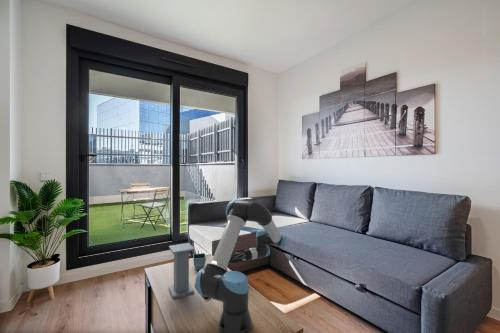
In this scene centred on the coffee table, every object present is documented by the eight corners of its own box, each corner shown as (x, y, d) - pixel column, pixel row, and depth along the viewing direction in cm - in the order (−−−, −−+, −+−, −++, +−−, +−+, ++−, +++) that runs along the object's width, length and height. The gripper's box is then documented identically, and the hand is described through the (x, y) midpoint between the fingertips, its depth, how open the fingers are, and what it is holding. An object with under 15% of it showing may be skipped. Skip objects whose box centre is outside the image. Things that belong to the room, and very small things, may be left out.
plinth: (188, 284, 144) (188, 242, 144) (194, 293, 134) (194, 248, 134) (168, 289, 138) (168, 245, 138) (172, 299, 128) (173, 252, 128)
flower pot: (193, 271, 162) (193, 258, 162) (192, 266, 170) (193, 254, 170) (205, 270, 164) (205, 257, 164) (204, 265, 172) (205, 253, 173)
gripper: (255, 263, 153) (223, 271, 141) (244, 255, 166) (213, 262, 155) (255, 252, 153) (223, 259, 141) (244, 245, 166) (213, 251, 155)
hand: (218, 261), depth 148 cm, fingers closed on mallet, 2 cm apart
